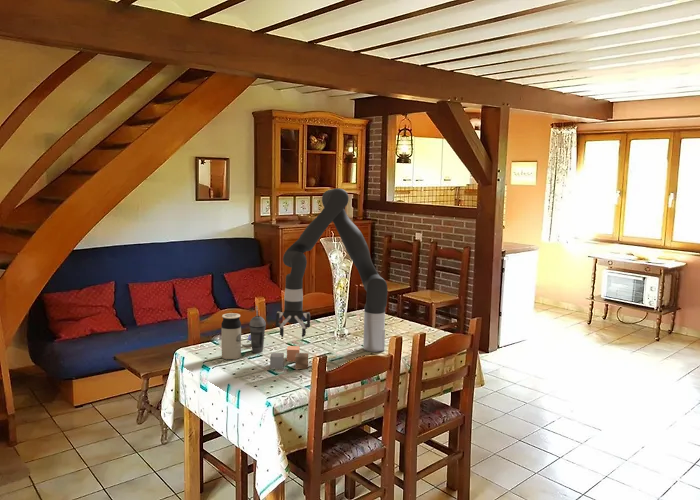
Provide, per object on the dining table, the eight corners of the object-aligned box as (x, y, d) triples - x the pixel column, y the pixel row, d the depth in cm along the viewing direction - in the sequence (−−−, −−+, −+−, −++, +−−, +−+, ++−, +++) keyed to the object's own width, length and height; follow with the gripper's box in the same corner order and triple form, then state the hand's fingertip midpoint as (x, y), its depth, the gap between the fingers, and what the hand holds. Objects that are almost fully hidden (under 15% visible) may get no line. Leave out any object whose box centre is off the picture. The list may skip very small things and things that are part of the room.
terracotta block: (299, 357, 243) (299, 346, 243) (298, 361, 238) (299, 349, 238) (287, 357, 243) (287, 346, 242) (286, 361, 238) (286, 349, 237)
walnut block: (308, 364, 235) (308, 353, 234) (307, 369, 230) (308, 357, 229) (295, 364, 234) (296, 353, 234) (295, 369, 229) (295, 357, 229)
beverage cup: (252, 354, 245) (252, 309, 242) (246, 349, 251) (246, 305, 248) (268, 352, 248) (268, 307, 245) (262, 347, 255) (263, 303, 252)
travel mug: (217, 357, 240) (217, 315, 238) (231, 352, 247) (231, 311, 244) (231, 361, 236) (231, 318, 233) (244, 356, 242) (244, 315, 240)
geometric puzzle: (260, 344, 253) (262, 326, 257) (245, 343, 253) (247, 326, 257) (263, 349, 259) (265, 332, 263) (248, 348, 260) (250, 332, 263)
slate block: (283, 364, 234) (283, 352, 233) (282, 369, 229) (282, 356, 228) (271, 364, 234) (271, 352, 233) (270, 368, 229) (270, 356, 228)
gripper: (311, 297, 241) (310, 334, 243) (277, 296, 241) (276, 333, 243) (310, 301, 234) (309, 339, 236) (275, 300, 233) (274, 338, 235)
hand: (292, 336), depth 239 cm, fingers open, 8 cm apart
